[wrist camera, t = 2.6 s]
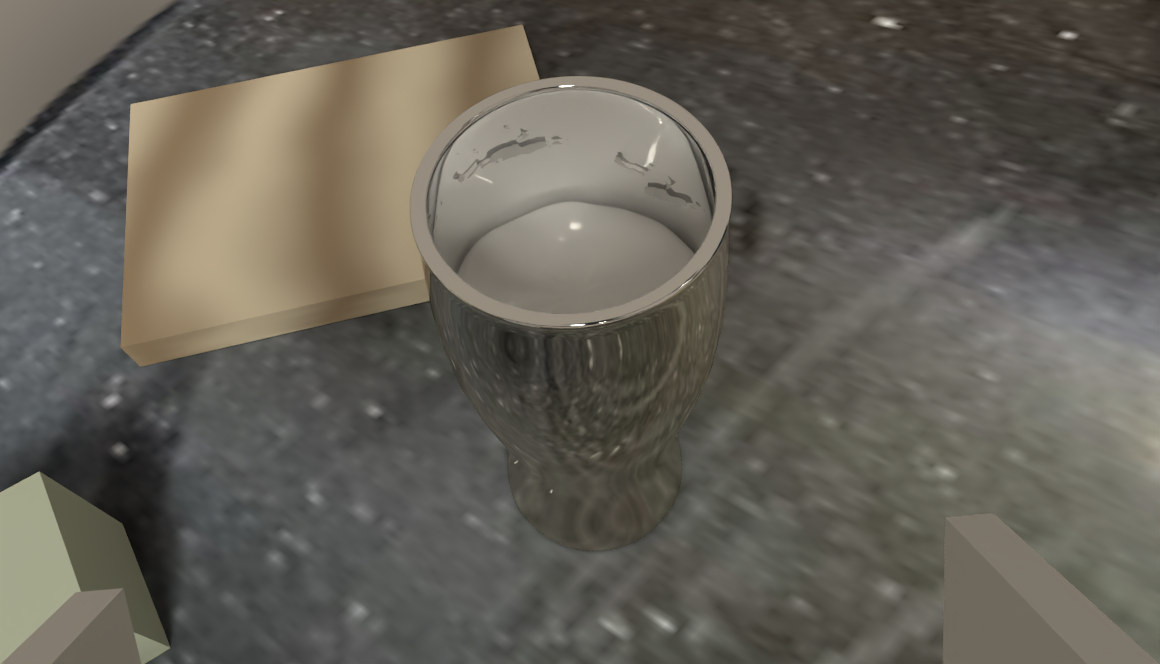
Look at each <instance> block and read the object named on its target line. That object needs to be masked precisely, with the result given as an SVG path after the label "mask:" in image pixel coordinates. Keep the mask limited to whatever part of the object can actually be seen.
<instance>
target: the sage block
mask: <svg viewBox="0 0 1160 664" xmlns="http://www.w3.org/2000/svg"><path fill="white" fill-rule="evenodd" d="M119 588H124V592H125V597H126V601H127V605H128V609H129V614H130V618H131V622H132V626H133V631H134V635H135V639H136V644H137V648H138V652H139V656H140V661H141V664H145V663H147V662H148V661H150V660H152V659H153V658H155V657H157V656H158V655H160V654H161V653H163V652H165V651H166V650H168V649H170V648H171V647H170V645H169V642H168V640H167V637H166V635H165V632H164V629H163V627H162V624H161V622H160V619H159V617H158V614H157V611H156V609H155V606H154V604H153V601H152V599H151V596H150V593H149V591H148V588H147V586H146V583H145V581H144V578H143V575H142V573H141V570H140V568H139V565H138V563H137V560H136V557H135V555H134V552H133V550H132V547H131V545H130V542H129V539H128V537H127V534H126V532H125V529H124V527H123V524H122V523H120V522H119V521H117V520H116V519H114V518H113V517H111V516H109V515H108V514H106V513H105V512H103V511H101V510H100V509H98V508H97V507H95V506H94V505H92V504H90V503H89V502H87V501H86V500H84V499H82V498H81V497H79V496H78V495H76V494H74V493H73V492H71V491H70V490H68V489H67V488H65V487H63V486H62V485H60V484H59V483H57V482H55V481H54V480H52V479H51V478H49V477H48V476H46V475H44V474H43V473H41V472H40V471H39V472H37V473H35V474H33V475H32V476H30V477H28V478H26V479H24V480H22V481H21V482H19V483H17V484H15V485H13V486H11V487H9V488H8V489H6V490H4V491H2V492H0V664H1V663H2V662H3V661H4V660H5V659H7V658H8V657H9V656H10V655H11V654H12V653H13V652H14V651H15V650H16V649H17V648H18V647H19V646H20V645H21V644H22V643H23V642H24V641H25V640H26V639H27V638H28V637H30V636H31V635H32V634H33V633H34V632H35V631H36V630H37V629H38V628H39V627H40V626H41V625H42V624H43V623H44V622H45V621H46V620H47V619H48V618H49V617H50V616H51V615H53V614H54V613H55V612H56V611H57V610H58V609H59V608H60V607H61V606H62V605H63V604H64V603H65V602H66V601H67V600H68V599H69V598H70V597H71V596H72V595H73V594H74V593H75V592H84V591H96V590H108V589H119Z"/></svg>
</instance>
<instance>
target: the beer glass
mask: <svg viewBox="0 0 1160 664" xmlns="http://www.w3.org/2000/svg"><path fill="white" fill-rule="evenodd" d="M732 201H733V193H732V183H731V177H730V173H729V169H728V166H727V163H726V160H725V158H724V156H723V153H722V151H721V149H720V148H719V146H718V144H717V143H716V141H715V139H714V138H713V137H712V135H711V134H710V133H709V131H708V130H707V129H706V128H705V127H704V126H703V124H702V123H701V122H700V121H699V120H697V119H696V118H695V117H694V116H693V115H692V114H691V113H689V112H688V111H687V110H686V109H684V108H683V107H682V106H680V105H679V104H677V103H676V102H674V101H672V100H671V99H669V98H667V97H665V96H663V95H661V94H659V93H657V92H655V91H653V90H650V89H648V88H645V87H642V86H639V85H636V84H633V83H629V82H625V81H621V80H616V79H611V78H604V77H594V76H563V77H553V78H546V79H540V80H535V81H531V82H527V83H523V84H519V85H516V86H513V87H510V88H508V89H505V90H502V91H500V92H498V93H495V94H493V95H491V96H489V97H487V98H485V99H483V100H481V101H480V102H478V103H476V104H475V105H473V106H472V107H470V108H469V109H467V110H466V111H464V112H463V113H462V114H460V115H459V116H458V117H457V118H455V119H454V120H453V121H452V122H451V123H450V124H449V125H448V126H447V127H446V128H445V129H444V130H443V131H442V132H441V133H440V134H439V135H438V136H437V137H436V139H435V140H434V141H433V143H432V144H431V145H430V147H429V148H428V150H427V151H426V153H425V155H424V157H423V158H422V160H421V162H420V164H419V167H418V169H417V171H416V174H415V177H414V181H413V184H412V189H411V195H410V222H411V229H412V233H413V237H414V240H415V243H416V246H417V248H418V250H419V254H420V259H421V264H422V269H423V274H424V279H425V284H426V288H427V292H428V297H429V301H430V305H431V310H432V314H433V317H434V320H435V324H436V327H437V330H438V333H439V336H440V340H441V343H442V346H443V349H444V351H445V354H446V356H447V358H448V361H449V363H450V365H451V367H452V369H453V372H454V374H455V376H456V378H457V381H458V383H459V385H460V387H461V389H462V390H463V392H464V394H465V395H466V397H467V398H468V400H469V401H470V403H471V404H472V406H473V407H474V409H475V410H476V412H477V413H478V414H479V416H480V417H481V419H482V420H483V422H484V423H485V424H486V425H487V426H488V428H489V429H490V430H491V431H492V432H493V433H494V435H495V436H496V437H497V438H498V439H499V440H500V442H501V443H502V444H503V445H504V446H505V447H506V448H507V449H508V450H509V455H508V479H509V485H510V489H511V493H512V496H513V498H514V501H515V503H516V505H517V507H518V509H519V510H520V512H521V513H522V515H523V516H524V517H525V519H526V520H527V521H528V522H529V523H530V524H531V526H533V527H534V528H535V529H536V530H537V531H538V532H539V533H541V534H542V535H543V536H545V537H546V538H548V539H550V540H551V541H553V542H555V543H557V544H560V545H562V546H565V547H568V548H572V549H576V550H582V551H607V550H613V549H618V548H621V547H624V546H627V545H630V544H632V543H634V542H636V541H638V540H640V539H641V538H643V537H645V536H646V535H647V534H649V533H650V532H651V531H652V530H654V529H655V528H656V527H657V526H658V525H659V524H660V523H661V522H662V521H663V519H664V518H665V517H666V516H667V514H668V513H669V511H670V510H671V508H672V506H673V504H674V502H675V500H676V498H677V495H678V493H679V489H680V485H681V480H682V454H681V449H680V445H679V441H678V438H677V435H678V433H679V431H680V430H681V428H682V427H683V425H684V423H685V422H686V420H687V418H688V416H689V415H690V413H691V411H692V410H693V408H694V406H695V404H696V402H697V400H698V398H699V396H700V394H701V391H702V389H703V387H704V385H705V382H706V380H707V378H708V376H709V373H710V371H711V368H712V365H713V362H714V358H715V354H716V350H717V346H718V342H719V338H720V334H721V330H722V325H723V319H724V310H725V302H726V293H727V284H728V263H729V222H730V218H731V212H732Z"/></svg>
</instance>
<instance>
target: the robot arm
mask: <svg viewBox="0 0 1160 664" xmlns="http://www.w3.org/2000/svg"><path fill="white" fill-rule="evenodd" d="M1 664H141V661H140V656H139V652H138V648H137V644H136V639H135V635H134V631H133V626H132V622H131V618H130V614H129V609H128V605H127V601H126V597H125V592H124V588H119V589H108V590H96V591H84V592H75V593H74V594H73V595H72V596H71V597H70V598H69V599H68V600H67V601H66V602H65V603H64V604H63V605H62V606H61V607H60V608H59V609H58V610H57V611H56V612H55V613H54V614H53V615H51V616H50V617H49V618H48V619H47V620H46V621H45V622H44V623H43V624H42V625H41V626H40V627H39V628H38V629H37V630H36V631H35V632H34V633H33V634H32V635H31V636H30V637H28V638H27V639H26V640H25V641H24V642H23V643H22V644H21V645H20V646H19V647H18V648H17V649H16V650H15V651H14V652H13V653H12V654H11V655H10V656H9V657H8V658H7V659H5V660H4V661H3V662H2V663H1ZM943 664H1159V663H1158V662H1156V661H1155V660H1154V659H1153V658H1152V657H1151V656H1150V655H1149V654H1148V653H1147V652H1145V651H1144V650H1143V649H1142V648H1141V647H1140V646H1139V645H1138V644H1137V643H1136V642H1134V641H1133V640H1132V639H1131V638H1130V637H1129V636H1128V635H1127V634H1126V633H1125V632H1123V631H1122V630H1121V629H1120V628H1119V627H1118V626H1117V625H1116V624H1115V623H1114V622H1113V621H1111V620H1110V619H1109V618H1108V617H1107V616H1106V615H1105V614H1104V613H1103V612H1102V611H1100V610H1099V609H1098V608H1097V607H1096V606H1095V605H1094V604H1093V603H1092V602H1091V601H1089V600H1088V599H1087V598H1086V597H1085V596H1084V595H1083V594H1082V593H1081V592H1080V591H1078V590H1077V589H1076V588H1075V587H1074V586H1073V585H1072V584H1071V583H1070V582H1069V581H1067V580H1066V579H1065V578H1064V577H1063V576H1062V575H1061V574H1060V573H1059V572H1058V571H1056V570H1055V569H1054V568H1053V567H1052V566H1051V565H1050V564H1049V563H1048V562H1047V561H1045V560H1044V559H1043V558H1042V557H1041V556H1040V555H1039V554H1038V553H1037V552H1036V551H1034V550H1033V549H1032V548H1031V547H1030V546H1029V545H1028V544H1027V543H1026V542H1025V541H1023V540H1022V539H1021V538H1020V537H1019V536H1018V535H1017V534H1016V533H1015V532H1014V531H1012V530H1011V529H1010V528H1009V527H1008V526H1007V525H1006V524H1005V523H1004V522H1003V521H1001V520H1000V519H999V518H998V517H997V516H996V515H995V514H994V513H991V514H979V515H967V516H956V517H945V571H944V633H943Z"/></svg>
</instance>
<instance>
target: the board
mask: <svg viewBox="0 0 1160 664" xmlns="http://www.w3.org/2000/svg"><path fill="white" fill-rule="evenodd" d="M535 80H540V79H539V76H538V72H537V69H536V66H535V63H534V60H533V56H532V53H531V50H530V47H529V43H528V40H527V37H526V34H525V31H524V27H523V25H518V26H513V27H508V28H503V29H498V30H493V31H488V32H483V33H478V34H474V35H469V36H464V37H459V38H454V39H449V40H444V41H439V42H434V43H429V44H425V45H420V46H415V47H410V48H405V49H400V50H395V51H390V52H385V53H380V54H376V55H371V56H366V57H361V58H356V59H351V60H346V61H341V62H336V63H331V64H327V65H322V66H317V67H312V68H307V69H302V70H297V71H292V72H287V73H282V74H277V75H273V76H268V77H263V78H258V79H253V80H248V81H243V82H238V83H233V84H228V85H224V86H219V87H214V88H209V89H204V90H199V91H194V92H189V93H184V94H179V95H175V96H170V97H165V98H160V99H155V100H150V101H145V102H140V103H135V104H131V112H130V136H129V160H128V184H127V208H126V232H125V255H124V279H123V303H122V327H121V348H122V349H123V350H124V351H125V352H126V353H127V354H128V355H129V356H130V357H131V358H132V359H133V360H134V361H135V362H136V363H137V364H138V365H139V366H140V367H141V366H146V365H150V364H154V363H159V362H163V361H168V360H172V359H176V358H181V357H185V356H189V355H194V354H198V353H203V352H207V351H211V350H216V349H220V348H225V347H229V346H233V345H238V344H242V343H246V342H251V341H255V340H260V339H264V338H268V337H273V336H277V335H282V334H286V333H290V332H295V331H299V330H303V329H308V328H312V327H317V326H321V325H325V324H330V323H334V322H339V321H343V320H347V319H352V318H356V317H360V316H365V315H369V314H374V313H378V312H382V311H387V310H391V309H396V308H400V307H404V306H409V305H413V304H417V303H422V302H426V301H429V297H428V292H427V288H426V284H425V279H424V274H423V269H422V264H421V259H420V254H419V250H418V248H417V246H416V243H415V240H414V237H413V233H412V229H411V222H410V195H411V189H412V184H413V181H414V177H415V174H416V171H417V169H418V167H419V164H420V162H421V160H422V158H423V157H424V155H425V153H426V151H427V150H428V148H429V147H430V145H431V144H432V143H433V141H434V140H435V139H436V137H437V136H438V135H439V134H440V133H441V132H442V131H443V130H444V129H445V128H446V127H447V126H448V125H449V124H450V123H451V122H452V121H453V120H454V119H455V118H457V117H458V116H459V115H460V114H462V113H463V112H464V111H466V110H467V109H469V108H470V107H472V106H473V105H475V104H476V103H478V102H480V101H481V100H483V99H485V98H487V97H489V96H491V95H493V94H495V93H498V92H500V91H502V90H505V89H508V88H510V87H513V86H516V85H519V84H523V83H527V82H531V81H535Z"/></svg>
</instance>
